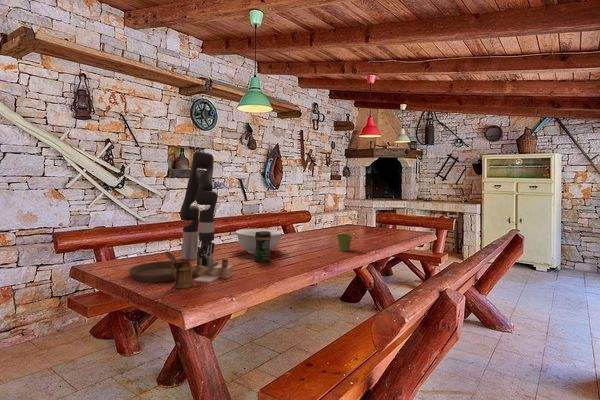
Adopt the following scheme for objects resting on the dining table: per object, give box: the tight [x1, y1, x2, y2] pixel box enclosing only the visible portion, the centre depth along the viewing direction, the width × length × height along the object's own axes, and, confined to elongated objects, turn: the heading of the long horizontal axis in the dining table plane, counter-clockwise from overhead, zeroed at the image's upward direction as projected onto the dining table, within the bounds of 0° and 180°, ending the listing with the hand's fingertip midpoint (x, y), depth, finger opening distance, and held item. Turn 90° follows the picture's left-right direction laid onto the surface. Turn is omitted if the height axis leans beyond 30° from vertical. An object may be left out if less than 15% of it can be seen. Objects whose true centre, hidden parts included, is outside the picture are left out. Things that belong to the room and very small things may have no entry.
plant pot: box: [335, 233, 354, 252], centre depth 271 cm, size 12×12×11 cm
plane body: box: [191, 252, 234, 279], centre depth 197 cm, size 20×7×12 cm, turn 77°
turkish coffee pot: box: [165, 250, 195, 290], centre depth 174 cm, size 9×14×18 cm, turn 137°
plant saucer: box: [128, 260, 193, 283], centre depth 195 cm, size 31×31×5 cm
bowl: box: [235, 228, 283, 255], centre depth 258 cm, size 32×32×15 cm
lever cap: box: [200, 254, 214, 267], centre depth 187 cm, size 5×4×5 cm
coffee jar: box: [253, 231, 271, 263], centre depth 232 cm, size 10×8×19 cm
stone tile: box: [193, 275, 219, 284], centre depth 188 cm, size 9×9×1 cm
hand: (206, 264), depth 188 cm, fingers closed on lever cap, 4 cm apart
